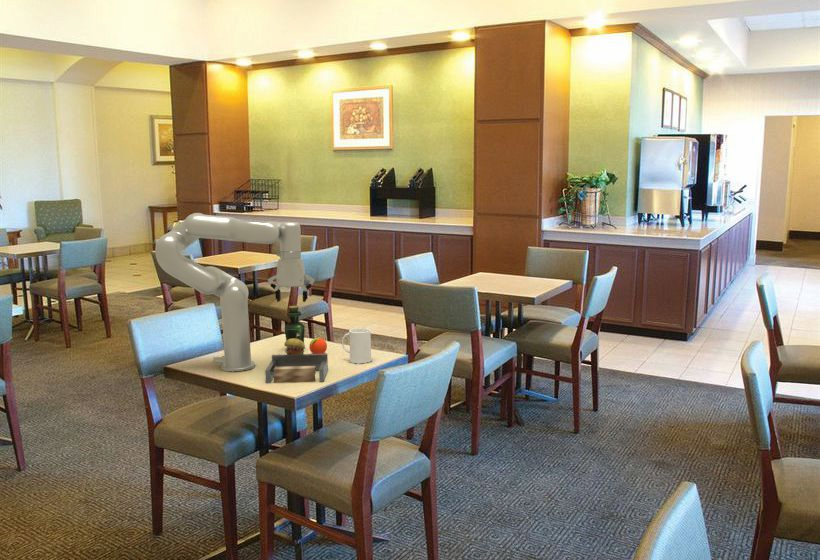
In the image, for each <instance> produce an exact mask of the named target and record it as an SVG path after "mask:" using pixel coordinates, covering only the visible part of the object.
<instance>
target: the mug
mask: <svg viewBox="0 0 820 560" xmlns="http://www.w3.org/2000/svg"><path fill="white" fill-rule="evenodd" d="M371 334H372V333H371V329H369V328H366V327H354V328H351V329H349V331H348V332H347V333H345V334H344V335H343V337H342V338H341V346H342V348H343V350H344V351H345V352H346V353H348V354H349V362H350V363H351V362H352V363H351V364H355V363H357V364H359V363H364V364H368V363H367V362H369V363H371V362H372V361H373V359H372V338H371V337H372V335H371ZM347 337H349V349H347V348H346V347H345V344H344V340H345V338H347ZM370 361H371V362H370ZM357 364H356V365H357ZM359 365H360V364H359Z"/></svg>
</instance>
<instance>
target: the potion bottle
mask: <svg viewBox="0 0 820 560" xmlns="http://www.w3.org/2000/svg"><path fill="white" fill-rule="evenodd" d="M288 308H289V309H288V310H289V311H287V313H286V317H289V320H290V322H288V323H287V324H285V326H284V332H285V333H284V334H285V341H286V340H288V339H291V338H295V339H296V337H297V339H299V340H301V341H302V342H303V343H304V344H305V325H304V324H303V323H302V322H300V321H299V318H300V316H302V313H301V311H299V306H298V305H289V306H288ZM297 333H298V334H299V336H297ZM288 349H292V348H290V347H288V348H287V347H286V350H288Z"/></svg>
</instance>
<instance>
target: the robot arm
mask: <svg viewBox="0 0 820 560" xmlns="http://www.w3.org/2000/svg"><path fill="white" fill-rule="evenodd" d="M301 231H302V230H301V225H300V222H296V221H284V222H277V221H264V222H258V221H247V220H242V219H238V218H236V217H233V216H224V215H223V216H222V215H214V214H213V215H212V214H211V215H209V214H204V213H201V212H194V213H192V214H189V215H188V216H187V217H185V219H184V220H183V221H182V222H181V223H179V224H178V225H177V226H175V227H173V229H171V230H169V232H167V233H165V234H163V235H161V237H159V238H158V240H157V241H156V244H155V258H156V261H157V264H158V265H159V267H160V268H161V269H162V270H163V271H164V272H165V273H167V274H168V275H169V276H171V277H172V278H175V279H176V280H178V281H181V282H182V283H184V284H185V285H187V286H189V287H191V288H192V289H195V290H196V291H197V292H199V293H201V294H203V295H207V296H208V295H214V296H216V297H217V298H220V299H219V301H220V302H219V303H220V311H221V324H222V338H223V341H222V342H223V353H224V355H222V356H213V358H212V362H213V363H215V364H220V369H221V371H224V372H229V371H232V372H234V371H237V372H245V371H248V370H252V369H254V368H255V367H256V362H255V361H254V360H252V356H251V355H252V353H251V338H250V337H251V335H250V320H249V307H248V306H249V305H248V304H249V303H248V298H249V289H248V287H247V285H246V283H245V282H243V281H242V280H240V279H238V278H236V277H235V276H234V275H233V276H232V275H230V274H229V273H227V272H225V271H224V270H222V269H220V268H218V267H215V266H210V265H209V266H204V265H201V264H199V263H198V262H196V261H194V260H193V259H191V258H188V257H186V256H185V255H183V252H184V251H185V250H186V249H188V248H189V247H190V246H191V245H193V244H194V243H195V242H197V241H198V240H199V239H209V240H210V239H211V240H222V241H232V242H242V243H252V244H261V245H262V244H263V245H271V244H274V243H276V242H277V241H279V252H276V255H275V256H277V257H279V259H277V264H276V274H275V275H273V276H271V277H269V278H267V282H268V283H269V285H270V287H271V288H272V289H273V290H274V292H275V293H274V295H275V300H276V302H277V303H278V302H280V301H282V299H281V298H282V297H281V295H282V294H281V288H284V287H290V288H291V287H292V288H293V287H294V288H296V287H297V288H298V287H300V288H301V289H302V303H305V302H306V301H307V300H308V295H309V293H308V291H309V290H310V289H311V287H312V286H313V284H314V283H315V278H313V277H311V276H310V275H308V274H306V271H305V264H304V259H303V258H302V243H301V242H302V238H301V235H302V234H301ZM274 280H276V284H275V283H274ZM306 280H307V281H309V282H308V284H306ZM244 370H245V371H244ZM234 373H235V372H234Z"/></svg>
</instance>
